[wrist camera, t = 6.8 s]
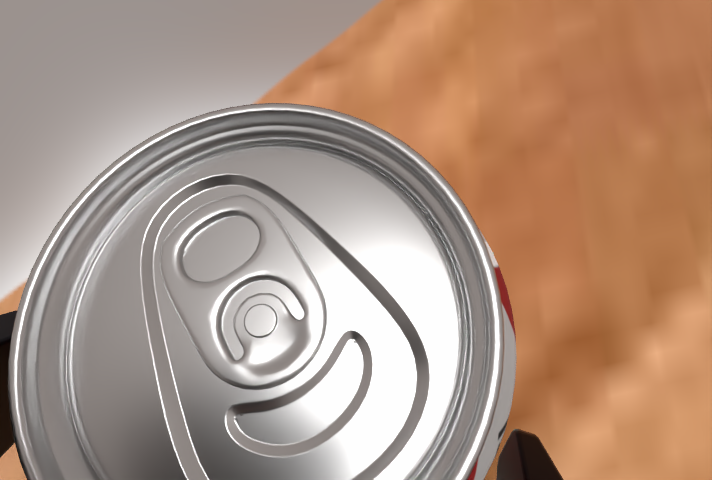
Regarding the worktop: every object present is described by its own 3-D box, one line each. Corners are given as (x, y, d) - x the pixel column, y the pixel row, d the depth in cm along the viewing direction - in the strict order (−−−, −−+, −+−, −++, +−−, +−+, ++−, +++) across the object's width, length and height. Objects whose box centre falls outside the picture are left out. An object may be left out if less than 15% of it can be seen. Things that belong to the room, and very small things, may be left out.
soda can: (316, 494, 15) (75, 919, 3) (229, 329, 17) (-112, 236, 5) (473, 384, 15) (721, 419, 4) (372, 238, 17) (345, -18, 6)
